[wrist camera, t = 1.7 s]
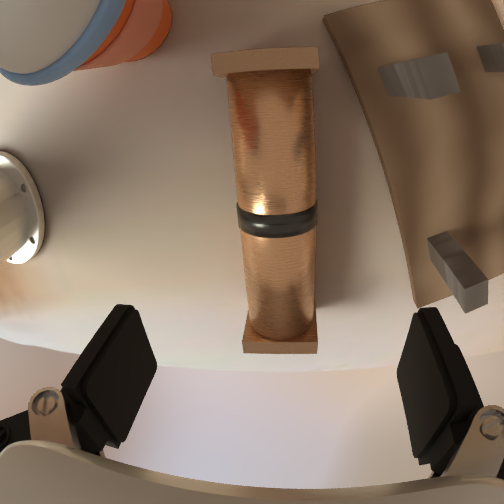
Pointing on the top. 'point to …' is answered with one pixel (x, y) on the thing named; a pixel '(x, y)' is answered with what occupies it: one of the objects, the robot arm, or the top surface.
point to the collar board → (435, 133)
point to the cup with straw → (76, 35)
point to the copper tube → (275, 192)
